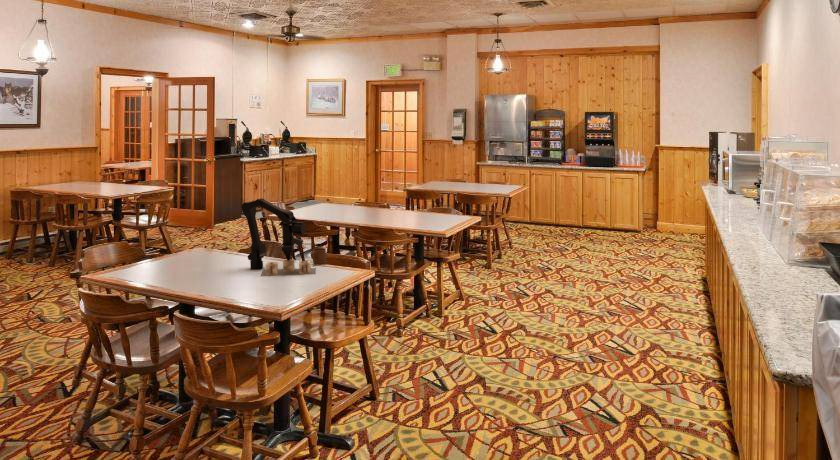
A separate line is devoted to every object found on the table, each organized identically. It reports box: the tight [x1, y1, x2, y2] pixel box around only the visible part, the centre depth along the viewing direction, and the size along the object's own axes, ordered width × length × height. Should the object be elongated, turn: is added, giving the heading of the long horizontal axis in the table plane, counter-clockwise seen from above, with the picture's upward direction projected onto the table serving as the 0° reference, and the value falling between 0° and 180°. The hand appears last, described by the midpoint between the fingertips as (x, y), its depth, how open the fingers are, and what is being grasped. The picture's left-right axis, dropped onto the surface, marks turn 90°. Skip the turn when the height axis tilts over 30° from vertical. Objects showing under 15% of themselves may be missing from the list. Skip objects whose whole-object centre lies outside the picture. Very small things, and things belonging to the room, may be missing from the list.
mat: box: [260, 267, 317, 277], centre depth 344 cm, size 30×16×1 cm, turn 99°
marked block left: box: [265, 261, 279, 275], centre depth 339 cm, size 6×6×6 cm
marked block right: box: [298, 260, 311, 275], centre depth 342 cm, size 6×6×6 cm
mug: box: [310, 247, 327, 266], centre depth 364 cm, size 12×8×9 cm, turn 153°
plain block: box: [282, 258, 296, 272], centre depth 346 cm, size 6×6×6 cm
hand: (288, 260), depth 346 cm, fingers closed
